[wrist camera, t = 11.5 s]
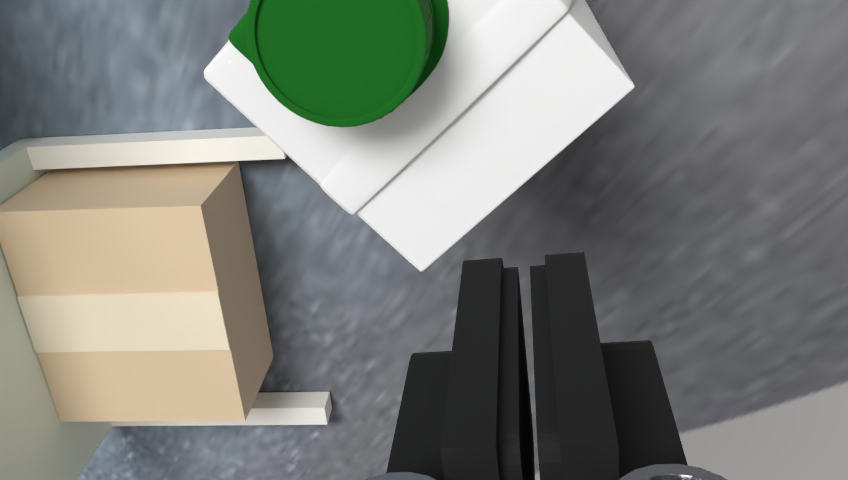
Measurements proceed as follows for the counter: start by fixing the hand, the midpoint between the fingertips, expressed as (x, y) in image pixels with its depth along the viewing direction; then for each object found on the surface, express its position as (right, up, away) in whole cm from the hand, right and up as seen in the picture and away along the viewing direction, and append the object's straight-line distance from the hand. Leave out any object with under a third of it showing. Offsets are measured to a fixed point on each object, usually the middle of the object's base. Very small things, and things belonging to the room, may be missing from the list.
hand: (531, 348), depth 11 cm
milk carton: (0, +13, +24) cm, 28 cm away
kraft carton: (-16, 0, +32) cm, 36 cm away
